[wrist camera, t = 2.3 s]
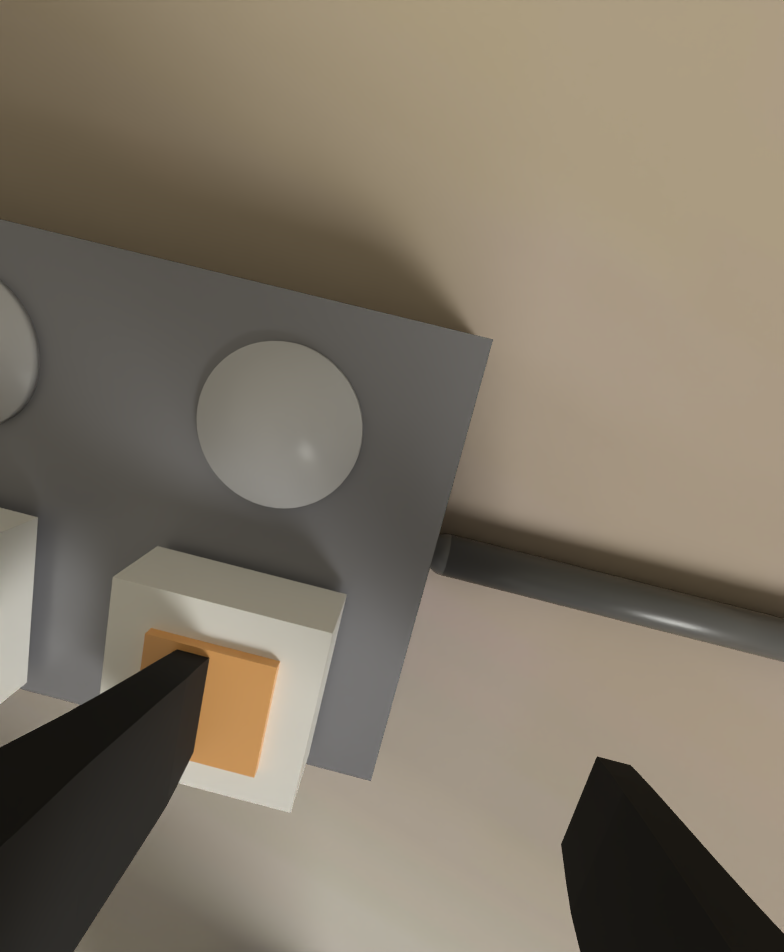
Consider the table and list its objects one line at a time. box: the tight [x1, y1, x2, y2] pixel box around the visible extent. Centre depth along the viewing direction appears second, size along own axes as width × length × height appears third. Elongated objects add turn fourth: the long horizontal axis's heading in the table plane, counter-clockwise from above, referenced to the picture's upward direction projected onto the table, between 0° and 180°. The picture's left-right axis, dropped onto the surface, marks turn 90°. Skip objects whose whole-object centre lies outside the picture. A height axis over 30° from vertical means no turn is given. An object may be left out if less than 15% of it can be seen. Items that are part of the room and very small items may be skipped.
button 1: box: [100, 546, 347, 813], centre depth 10 cm, size 4×4×2 cm
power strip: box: [0, 219, 784, 781], centre depth 12 cm, size 10×31×3 cm, turn 77°
